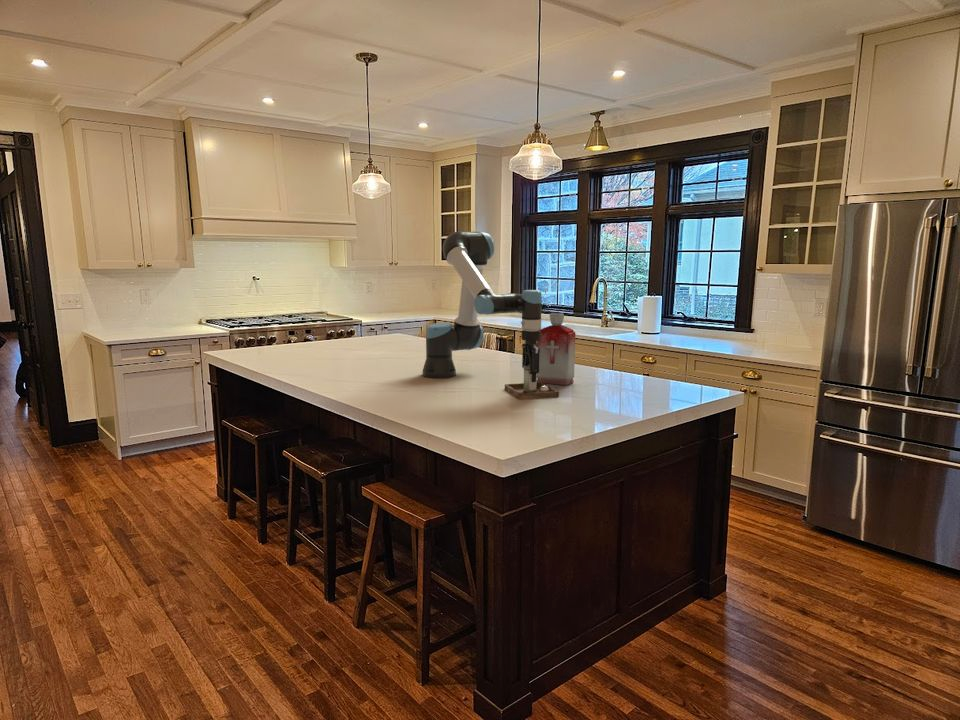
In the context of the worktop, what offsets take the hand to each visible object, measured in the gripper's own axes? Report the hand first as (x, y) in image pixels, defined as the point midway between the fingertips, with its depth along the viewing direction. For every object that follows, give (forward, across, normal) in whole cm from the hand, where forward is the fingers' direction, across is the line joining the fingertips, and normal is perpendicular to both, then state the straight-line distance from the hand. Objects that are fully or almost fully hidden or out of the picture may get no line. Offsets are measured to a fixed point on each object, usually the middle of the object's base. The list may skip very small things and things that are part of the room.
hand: (530, 387), depth 248 cm
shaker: (+1, 0, 0) cm, 1 cm away
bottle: (+2, -15, +17) cm, 23 cm away
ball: (+2, +5, +4) cm, 7 cm away
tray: (+2, +1, 0) cm, 2 cm away
